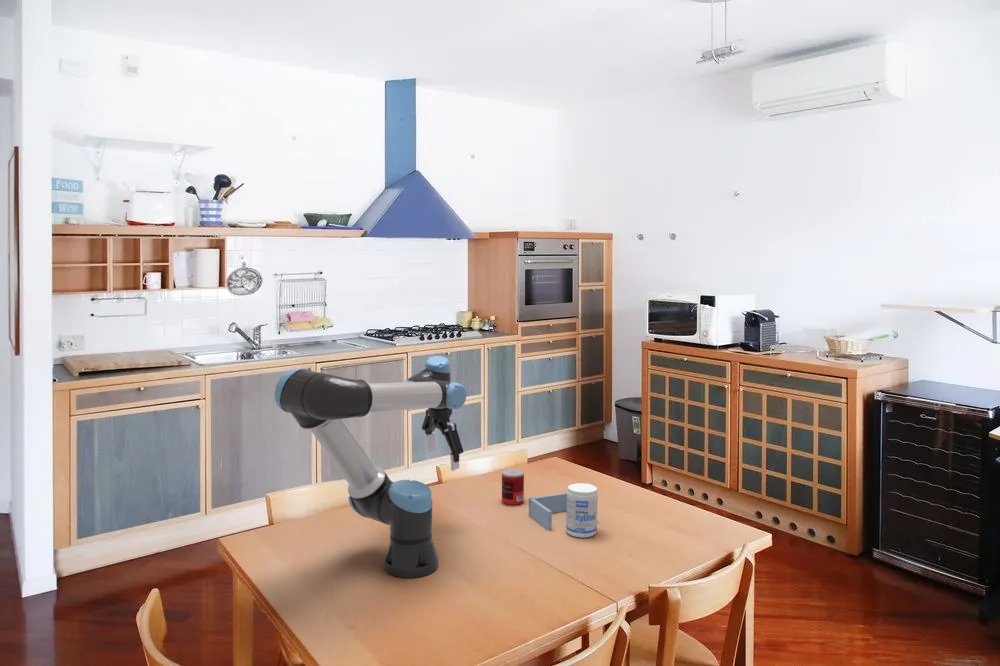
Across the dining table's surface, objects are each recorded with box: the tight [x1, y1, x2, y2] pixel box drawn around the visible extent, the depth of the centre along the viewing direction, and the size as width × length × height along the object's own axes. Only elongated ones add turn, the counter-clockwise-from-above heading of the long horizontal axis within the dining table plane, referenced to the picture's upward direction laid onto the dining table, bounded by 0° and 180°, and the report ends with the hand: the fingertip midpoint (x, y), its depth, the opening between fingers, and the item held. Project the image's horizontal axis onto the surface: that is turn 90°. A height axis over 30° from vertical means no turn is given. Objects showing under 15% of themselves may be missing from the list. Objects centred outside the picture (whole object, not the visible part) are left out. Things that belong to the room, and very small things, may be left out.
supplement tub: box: [565, 482, 599, 539], centre depth 234 cm, size 10×10×15 cm
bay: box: [528, 492, 567, 531], centre depth 246 cm, size 14×17×6 cm
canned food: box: [501, 468, 525, 506], centre depth 262 cm, size 8×8×11 cm
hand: (443, 459), depth 244 cm, fingers open, 13 cm apart
